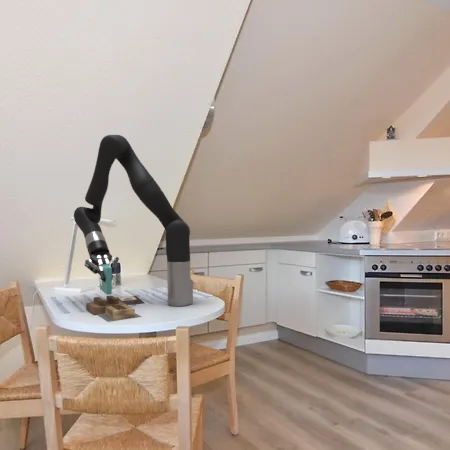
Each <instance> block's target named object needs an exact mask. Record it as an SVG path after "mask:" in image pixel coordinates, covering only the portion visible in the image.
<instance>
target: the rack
mask: <svg viewBox="0 0 450 450" xmlns="http://www.w3.org/2000/svg"><path fill="white" fill-rule="evenodd" d="M135 310H136V309H135V308H134V307H132V306H131V305H126V304H123V305H120V310H117V309H115V308H114V307H112V306H108V307H105V315H106V316H108V317H109V318H111V319H113V320H118V321H121V320H120V319H124V320H127V319H126V318H131V319H134V318H133V317H135V313H136V312H135Z"/></svg>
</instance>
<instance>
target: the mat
mask: <svg viewBox="0 0 450 450" xmlns="http://www.w3.org/2000/svg"><path fill="white" fill-rule="evenodd" d="M97 316H98V317H100V318H101V319H103V320H104V321H106V322H108V323H110V322H117V321H123V320H130V319H136V318H142V316H141V315H140V314H138V313H136V312H135V317H133V318H126V319H120V320H113V319H111V318H109V317H108V316H106V315H105V314H100V315H97Z"/></svg>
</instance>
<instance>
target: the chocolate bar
mask: <svg viewBox="0 0 450 450" xmlns="http://www.w3.org/2000/svg"><path fill="white" fill-rule="evenodd" d="M115 297H116V298H118V299H119V300H120V301H122V302H124V303H126V305H128V306H131V305H141V304H142V305H143V304H144V305H145V304H146V302H145V301H144V300H142V299H140V298H139V296H137V295H126V296H125V295H123V296H115Z"/></svg>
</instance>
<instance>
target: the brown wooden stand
mask: <svg viewBox="0 0 450 450" xmlns="http://www.w3.org/2000/svg"><path fill="white" fill-rule="evenodd" d="M116 297H117V296H114V295H112V294H110V295H106V299H104V298H101V297H100V296H94V297H93V299H92V302H86V303H85V310H86V311H87V312H88V313H89V314H92V315H93V316H98V315H101V314H105V307H108V306H112V307H114V308H115V309H117V310H120V305H123V304H126V303H124V302H122V301H120V300H119V299H118V298H116Z"/></svg>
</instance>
